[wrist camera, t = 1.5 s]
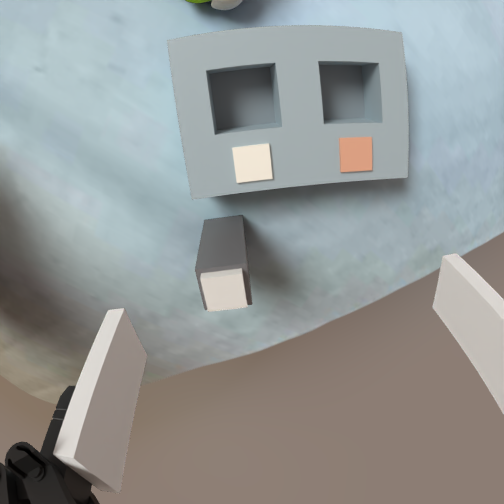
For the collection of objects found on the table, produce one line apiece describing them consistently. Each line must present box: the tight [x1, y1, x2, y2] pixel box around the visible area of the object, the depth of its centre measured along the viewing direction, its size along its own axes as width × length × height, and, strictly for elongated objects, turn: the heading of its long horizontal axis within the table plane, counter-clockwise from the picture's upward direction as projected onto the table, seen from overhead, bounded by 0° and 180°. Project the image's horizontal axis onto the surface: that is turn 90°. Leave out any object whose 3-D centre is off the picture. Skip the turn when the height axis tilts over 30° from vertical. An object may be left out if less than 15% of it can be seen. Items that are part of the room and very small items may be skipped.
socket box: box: [167, 25, 409, 200], centre depth 25 cm, size 20×14×5 cm
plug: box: [195, 215, 252, 312], centre depth 29 cm, size 4×4×11 cm
